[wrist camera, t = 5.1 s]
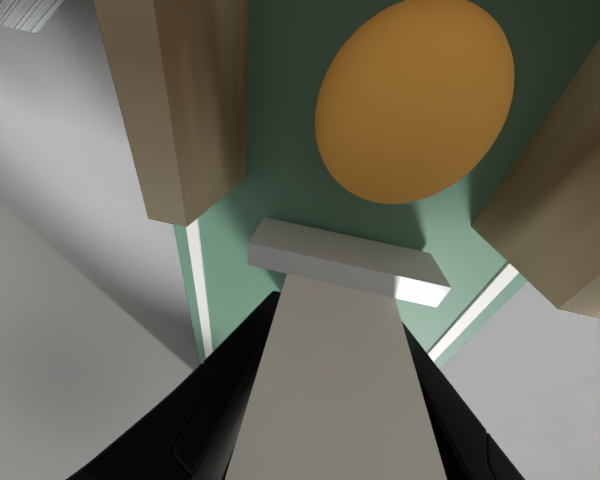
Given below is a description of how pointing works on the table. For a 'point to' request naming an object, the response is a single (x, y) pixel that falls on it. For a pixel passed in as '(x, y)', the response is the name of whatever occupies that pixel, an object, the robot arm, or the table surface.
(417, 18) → the ball
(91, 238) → the table surface
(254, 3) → the board
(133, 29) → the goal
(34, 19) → the book
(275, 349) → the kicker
